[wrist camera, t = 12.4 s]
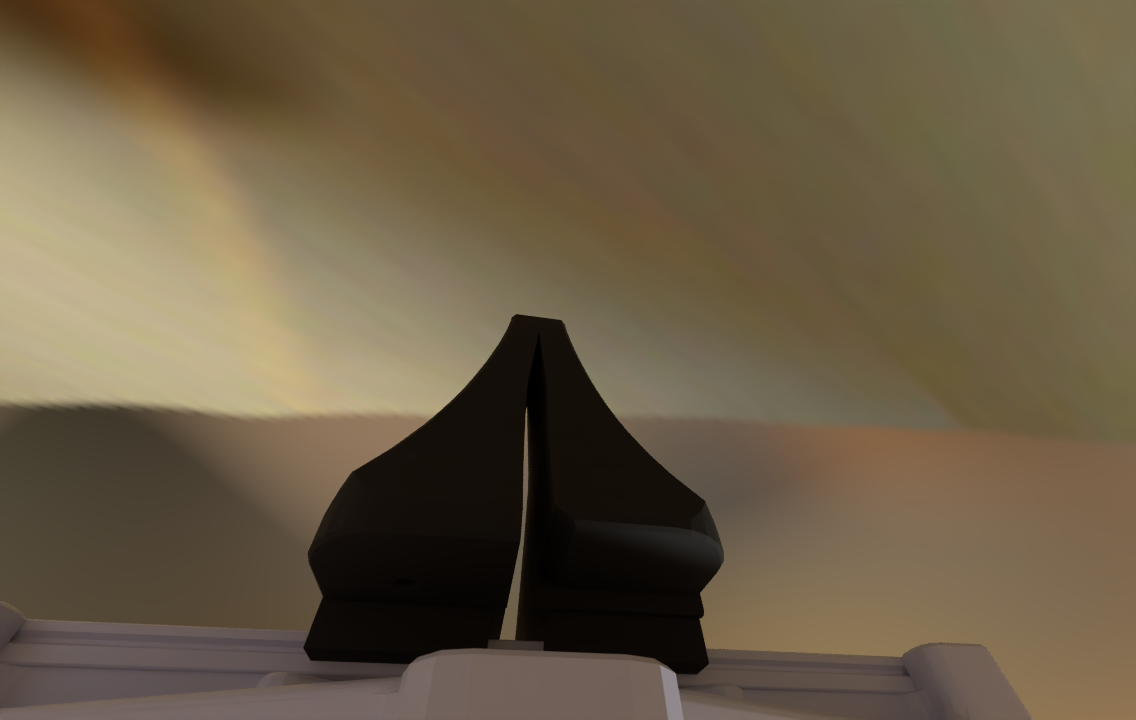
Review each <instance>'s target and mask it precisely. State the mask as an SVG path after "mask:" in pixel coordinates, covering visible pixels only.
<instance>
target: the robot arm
mask: <svg viewBox="0 0 1136 720" xmlns="http://www.w3.org/2000/svg"><path fill="white" fill-rule="evenodd" d="M526 408H527V427H528V471H529V473H528V475H529V476H528V498H527V511H526V523H525V536H524V547H523V559H522V570H521V582H520V593H519V604H518V615H517V626H516V636H515V640H499V639H500V634H501V629H502V624H503V618H504V614H505V608H507V603H508V599H509V594H510V589H511V584H512V579H513V574H514V569H515V564H516V559H517V555H518V550H519V544H520V538H521V526H522V510H523V460H524V434H525V433H524V432H525V414H526ZM308 559H309V564H310V567H311V569H312V572H313V574H314V576H315V579H316V581H317V584H318V586H319V588H320V590H321V593H322V595H323V598H322V601H321V603H320V606H319V608H318V611H317V613H316V616H315V618H314V621H313V624H312V626H311V629H310V631H289V630H265V629H241V628H218V627H196V626H172V625H150V624H127V623H103V622H79V621H58V620H35V619H25V617H24V615H23V614H22V613H21V612H20V611H18V610H17V609H16V608H14V607H13V606H11V605H9V604H7V603H5V602H2V601H0V720H1033V718H1032V716H1031V715H1030V713H1029V712H1028V710H1027V709H1026V707H1025V706H1024V704H1023V703H1022V701H1021V700H1020V698H1019V697H1018V695H1017V694H1016V692H1015V691H1014V689H1013V687H1012V686H1011V684H1010V683H1009V681H1008V680H1007V678H1006V677H1005V675H1004V674H1003V672H1002V671H1001V669H1000V668H999V666H998V665H997V663H996V662H995V660H994V658H993V657H992V655H991V654H990V652H989V651H988V650H987V648H986V647H984V646H982V645H979V644H978V645H977V644H959V643H928V644H924V645H920V646H917V647H915V648H913V649H911V650H909V651H908V652H906V653H904V654H903V656H902V657H887V656H863V655H841V654H818V653H794V652H772V651H771V652H770V651H749V650H725V649H706V647H705V642H704V638H703V633H702V629H701V625H700V620H699V618H702V617H703V616H704V609H703V604H702V600H701V596H700V592H701V591H702V590H703V589H704V588H705V586H706V585H707V584H708V583H709V581H710V580H711V579H712V578H713V577H714V575H715V574H716V573H717V571H718V570H719V569H720V567H721V565H722V563H723V561H724V551H723V548H722V545H721V541H720V538H719V534H718V531H717V529H716V526H715V523H714V521H713V519H712V516H711V514H710V512H709V509H708V507H707V505H706V502H705V501H704V500H703V499H702V498H700V497H699V496H698V495H697V494H696V493H694V492H693V491H691V490H690V489H689V488H688V487H687V486H685V485H684V484H683V483H682V482H680V481H679V480H678V479H676V478H675V477H674V476H673V475H672V474H670V473H669V472H668V471H667V470H666V469H665V468H664V467H663V466H662V465H660V464H659V463H658V462H657V461H656V460H655V459H654V458H653V457H652V456H650V454H648V452H646V450H645V449H643V447H642V446H641V445H640V444H639V443H638V442H637V441H636V440H635V439H634V438H633V437H632V436H631V435H630V434H629V433H628V431H627V430H626V429H625V428H624V427H623V425H622V424H621V423H620V422H619V421H618V419H617V418H616V417H615V415H614V414H613V413H612V411H611V410H610V409H609V408H608V406H607V405H606V403H605V402H604V400H603V399H602V397H601V396H600V394H599V393H598V391H597V390H596V388H595V387H594V385H593V383H592V382H591V380H590V378H589V377H588V375H587V373H586V371H585V369H584V367H583V366H582V364H581V362H580V360H579V358H578V356H577V354H576V352H575V350H574V347H573V345H572V343H571V341H570V338H569V336H568V333H567V330H566V328H565V324H564V323H563V322H562V320H556V319H549V318H541V317H534V316H526V315H519V314H516V315H515V316H513V317H512V319H511V322H510V324H509V327H508V329H507V331H506V333H505V334H504V336H503V338H502V339H501V341H500V343H499V344H498V346H497V347H496V349H495V350H494V352H493V353H492V355H491V356H490V358H489V359H488V360H487V362H486V363H485V364H484V365H483V367H482V368H481V369H480V370H479V372H478V373H477V374H476V375H475V376H474V378H473V379H472V380H471V381H470V382H469V383H468V384H467V386H466V387H465V388H464V389H463V390H462V391H461V392H460V393H459V394H458V395H457V396H456V397H455V398H454V399H453V400H452V401H451V402H450V403H449V404H447V405H446V406H445V407H444V408H443V409H442V410H441V411H440V412H438V413H437V414H436V415H435V416H434V417H433V418H431V419H430V420H429V421H428V422H427V423H426V424H424V425H423V426H421V427H420V428H419V429H417V430H416V431H415V432H413V433H412V434H410V435H409V436H408V437H406V438H405V439H404V440H402V441H401V442H400V443H398V444H397V445H395V446H394V447H392V448H391V449H389V450H388V451H386V452H384V453H383V454H381V455H380V456H378V457H376V458H375V459H373V460H371V461H370V462H368V463H366V464H365V465H363V466H361V467H360V468H358V469H356V470H355V471H353V472H352V473H351V474H350V475H349V477H348V478H347V480H346V481H345V483H344V484H343V485H342V487H341V488H340V490H339V491H338V493H337V495H336V496H335V498H334V500H333V501H332V503H331V504H330V506H329V508H328V509H327V511H326V513H325V515H324V517H323V519H322V521H321V524H320V526H319V528H318V531H317V533H316V535H315V537H314V540H313V542H312V544H311V546H310V549H309V551H308Z"/></svg>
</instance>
